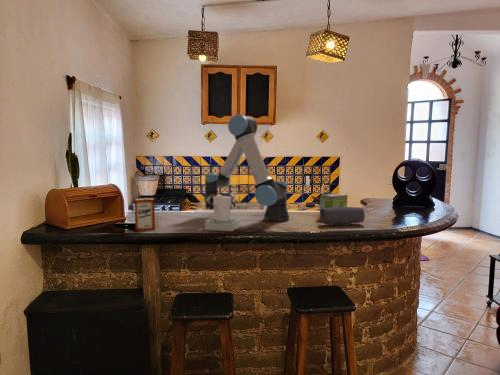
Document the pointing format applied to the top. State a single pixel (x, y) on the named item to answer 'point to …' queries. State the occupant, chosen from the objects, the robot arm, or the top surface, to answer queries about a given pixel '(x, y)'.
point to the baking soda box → (144, 214)
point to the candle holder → (222, 207)
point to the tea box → (332, 201)
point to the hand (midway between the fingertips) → (224, 207)
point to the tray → (222, 224)
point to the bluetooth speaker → (342, 215)
